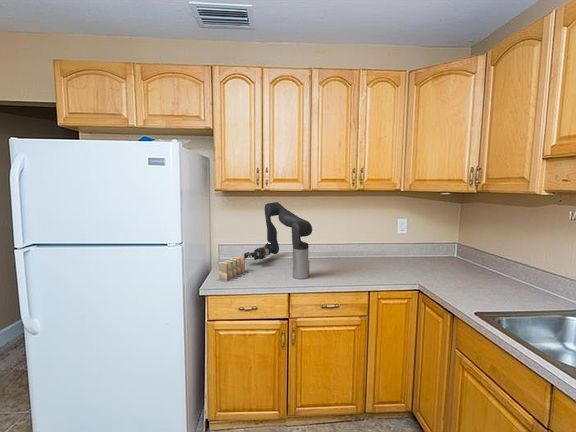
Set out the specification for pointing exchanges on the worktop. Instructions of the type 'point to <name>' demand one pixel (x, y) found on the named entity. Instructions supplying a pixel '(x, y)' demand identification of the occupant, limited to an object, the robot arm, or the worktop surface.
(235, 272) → the maple domino
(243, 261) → the terracotta domino
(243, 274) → the mat
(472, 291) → the worktop surface
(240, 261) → the maple domino
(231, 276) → the maple domino
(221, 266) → the maple domino
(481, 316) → the worktop surface
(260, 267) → the worktop surface
